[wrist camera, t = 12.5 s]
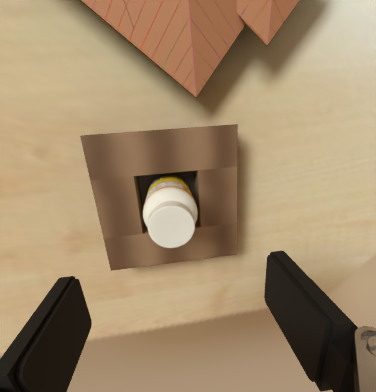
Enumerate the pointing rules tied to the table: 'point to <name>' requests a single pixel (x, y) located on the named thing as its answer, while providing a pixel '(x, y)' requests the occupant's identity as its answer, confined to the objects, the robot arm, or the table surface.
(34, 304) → the table surface
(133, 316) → the table surface
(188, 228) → the supplement bottle
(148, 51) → the house
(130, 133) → the holder
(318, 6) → the table surface
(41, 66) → the table surface
